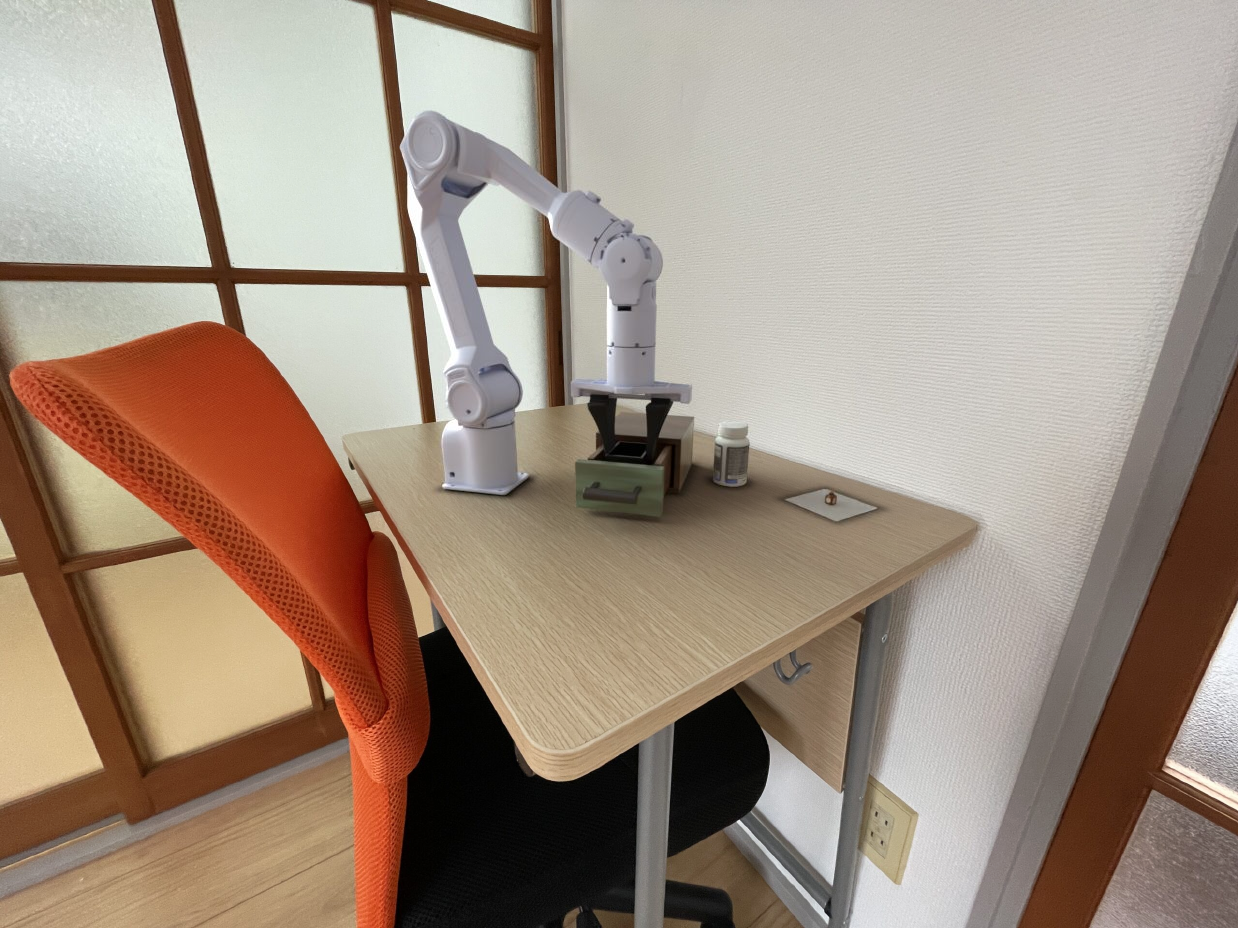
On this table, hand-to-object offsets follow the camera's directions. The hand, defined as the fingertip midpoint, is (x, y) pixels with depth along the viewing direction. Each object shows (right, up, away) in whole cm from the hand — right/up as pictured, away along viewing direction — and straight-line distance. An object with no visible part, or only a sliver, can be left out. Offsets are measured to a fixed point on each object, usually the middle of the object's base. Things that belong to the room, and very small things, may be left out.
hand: (629, 456), depth 66 cm
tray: (0, -2, 0) cm, 2 cm away
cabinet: (+3, -2, +12) cm, 13 cm away
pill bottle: (+14, -4, +9) cm, 18 cm away
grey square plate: (+26, -6, +2) cm, 27 cm away
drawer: (0, -5, 0) cm, 5 cm away
